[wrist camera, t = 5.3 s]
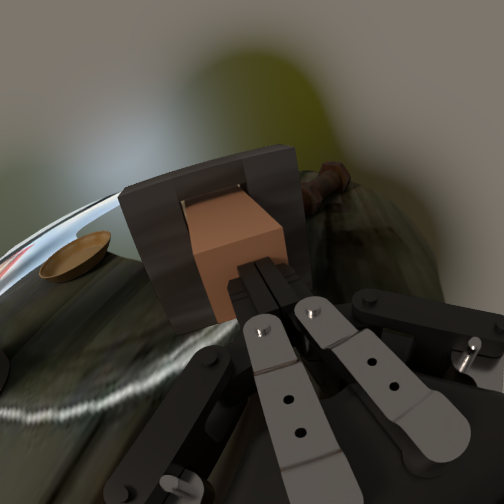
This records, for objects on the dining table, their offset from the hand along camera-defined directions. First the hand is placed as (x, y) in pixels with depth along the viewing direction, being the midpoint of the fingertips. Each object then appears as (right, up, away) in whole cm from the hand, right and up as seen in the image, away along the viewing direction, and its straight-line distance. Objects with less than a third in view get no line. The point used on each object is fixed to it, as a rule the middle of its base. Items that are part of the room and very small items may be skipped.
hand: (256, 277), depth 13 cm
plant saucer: (-29, -1, +27) cm, 40 cm away
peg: (-2, +1, +7) cm, 7 cm away
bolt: (+9, +8, +28) cm, 30 cm away
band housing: (-3, -1, +17) cm, 17 cm away
